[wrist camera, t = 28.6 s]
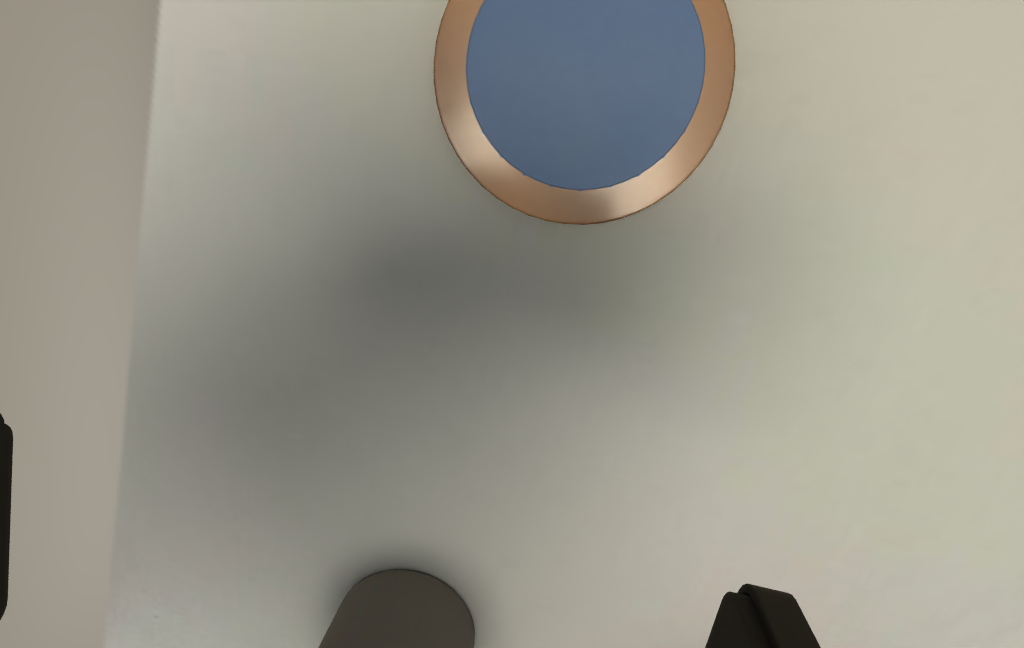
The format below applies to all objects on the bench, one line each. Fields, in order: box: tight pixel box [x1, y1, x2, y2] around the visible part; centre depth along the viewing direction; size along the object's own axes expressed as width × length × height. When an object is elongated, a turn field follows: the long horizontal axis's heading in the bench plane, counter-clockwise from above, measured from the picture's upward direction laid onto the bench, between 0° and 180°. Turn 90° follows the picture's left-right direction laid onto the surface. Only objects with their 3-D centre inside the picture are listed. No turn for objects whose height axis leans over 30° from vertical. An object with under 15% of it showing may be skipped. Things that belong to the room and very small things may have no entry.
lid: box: [466, 0, 705, 192], centre depth 22 cm, size 7×7×2 cm
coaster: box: [434, 0, 735, 225], centre depth 23 cm, size 10×10×1 cm
